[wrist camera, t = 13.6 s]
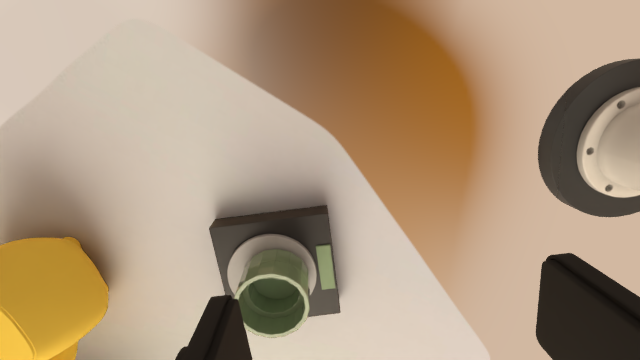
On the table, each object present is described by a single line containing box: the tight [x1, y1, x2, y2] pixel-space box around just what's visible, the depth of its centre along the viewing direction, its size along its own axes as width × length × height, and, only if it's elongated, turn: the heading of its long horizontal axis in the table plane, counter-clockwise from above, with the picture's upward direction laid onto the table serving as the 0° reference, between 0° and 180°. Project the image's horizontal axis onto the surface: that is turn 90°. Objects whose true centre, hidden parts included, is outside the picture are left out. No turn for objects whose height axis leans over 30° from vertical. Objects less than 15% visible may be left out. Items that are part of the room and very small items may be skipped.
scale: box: [209, 205, 340, 317], centre depth 37 cm, size 13×13×3 cm
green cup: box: [234, 249, 310, 338], centre depth 33 cm, size 7×7×5 cm
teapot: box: [0, 237, 109, 360], centre depth 33 cm, size 13×20×12 cm
